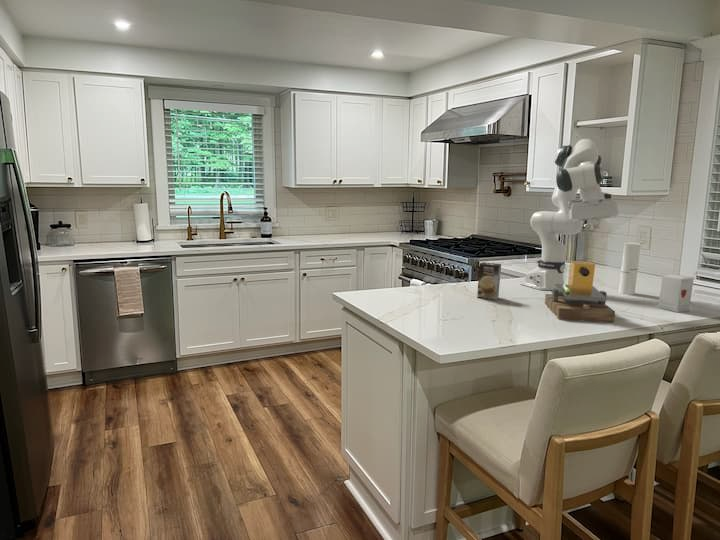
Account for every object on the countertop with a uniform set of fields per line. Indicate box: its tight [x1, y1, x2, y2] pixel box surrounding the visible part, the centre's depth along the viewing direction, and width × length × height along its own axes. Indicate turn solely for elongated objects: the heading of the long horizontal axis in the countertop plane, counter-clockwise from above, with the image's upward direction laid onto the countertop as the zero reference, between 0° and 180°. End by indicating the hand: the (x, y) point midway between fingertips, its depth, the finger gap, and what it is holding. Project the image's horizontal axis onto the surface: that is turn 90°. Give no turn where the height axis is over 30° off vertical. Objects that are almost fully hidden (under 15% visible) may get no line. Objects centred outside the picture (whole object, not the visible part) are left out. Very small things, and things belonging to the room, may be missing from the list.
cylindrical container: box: [618, 242, 642, 296], centre depth 263 cm, size 7×7×25 cm
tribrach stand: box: [544, 289, 616, 323], centre depth 223 cm, size 26×21×10 cm
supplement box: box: [657, 273, 695, 313], centre depth 233 cm, size 9×9×15 cm
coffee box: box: [476, 261, 502, 300], centre depth 246 cm, size 9×6×16 cm
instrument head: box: [554, 260, 607, 302], centre depth 221 cm, size 18×16×14 cm
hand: (595, 228), depth 235 cm, fingers closed
